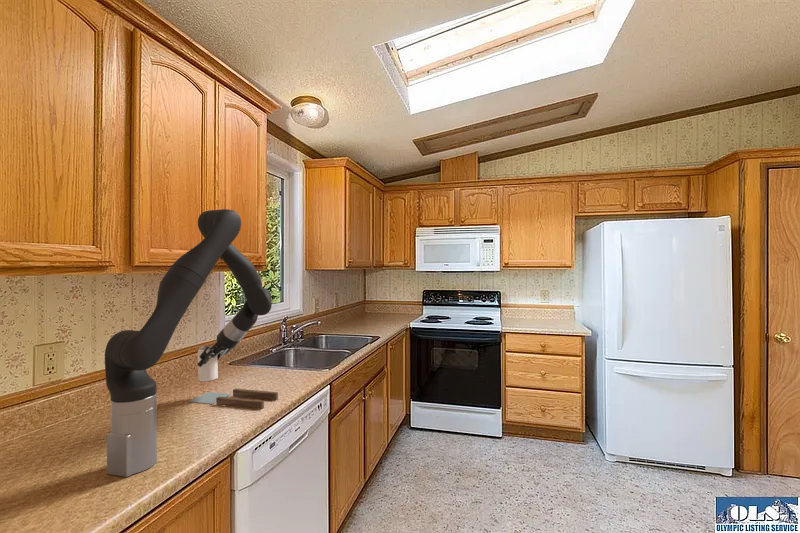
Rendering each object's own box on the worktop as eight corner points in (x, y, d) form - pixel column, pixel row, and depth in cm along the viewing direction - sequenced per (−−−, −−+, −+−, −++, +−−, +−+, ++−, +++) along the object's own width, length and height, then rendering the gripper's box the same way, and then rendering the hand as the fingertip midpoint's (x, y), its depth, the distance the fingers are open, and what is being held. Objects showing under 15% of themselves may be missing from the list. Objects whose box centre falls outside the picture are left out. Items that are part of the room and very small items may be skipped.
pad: (211, 404, 133) (211, 403, 133) (188, 402, 135) (188, 401, 135) (230, 394, 143) (230, 394, 143) (208, 392, 145) (208, 391, 145)
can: (209, 382, 135) (208, 349, 135) (194, 381, 136) (193, 349, 136) (222, 376, 141) (220, 345, 141) (207, 375, 143) (205, 344, 142)
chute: (261, 409, 128) (261, 402, 128) (216, 405, 132) (216, 397, 132) (278, 399, 138) (278, 392, 138) (235, 395, 142) (235, 388, 142)
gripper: (239, 322, 144) (213, 351, 147) (212, 328, 130) (184, 361, 133) (252, 336, 143) (225, 366, 146) (226, 344, 129) (197, 377, 132)
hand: (206, 363), depth 139 cm, fingers closed on can, 5 cm apart
